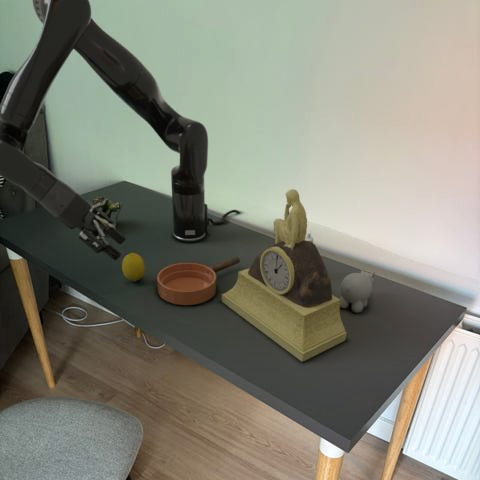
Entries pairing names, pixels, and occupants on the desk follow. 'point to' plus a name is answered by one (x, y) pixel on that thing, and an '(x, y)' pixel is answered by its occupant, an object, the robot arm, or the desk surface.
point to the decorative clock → (290, 290)
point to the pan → (186, 283)
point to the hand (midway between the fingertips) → (121, 249)
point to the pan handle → (225, 264)
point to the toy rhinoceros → (356, 290)
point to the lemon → (133, 267)
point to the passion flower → (107, 207)
